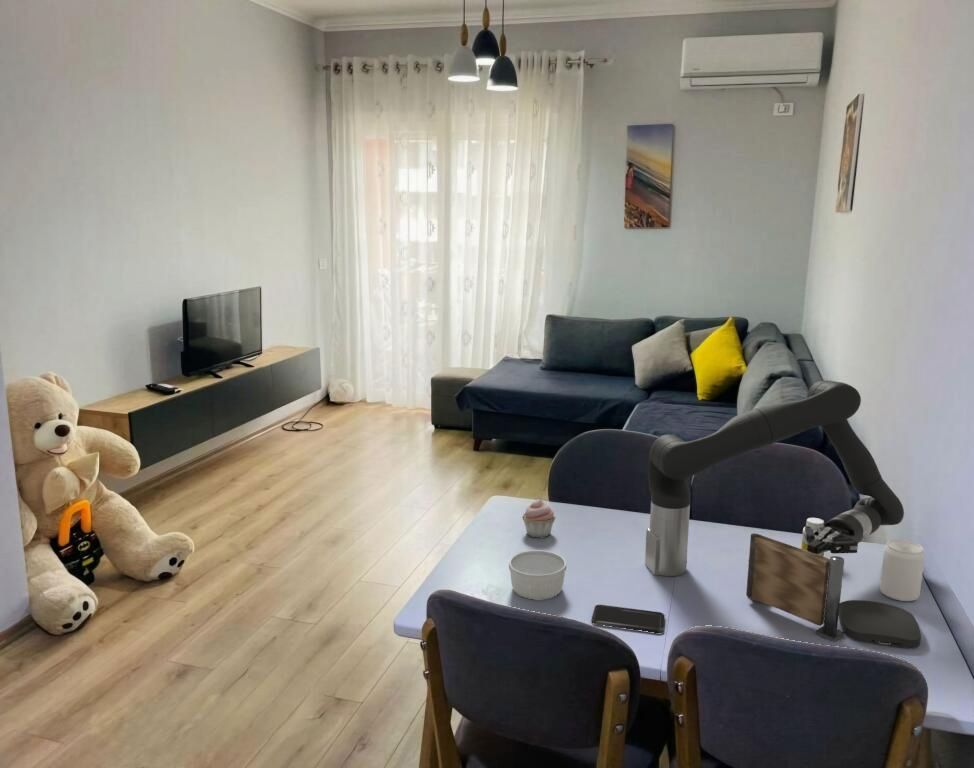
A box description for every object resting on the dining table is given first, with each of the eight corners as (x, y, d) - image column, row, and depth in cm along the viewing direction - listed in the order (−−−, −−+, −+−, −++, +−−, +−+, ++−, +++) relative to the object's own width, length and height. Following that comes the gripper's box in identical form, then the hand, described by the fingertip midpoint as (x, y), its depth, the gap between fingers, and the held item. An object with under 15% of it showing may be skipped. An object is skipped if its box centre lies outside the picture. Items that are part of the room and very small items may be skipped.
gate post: (849, 631, 163) (857, 556, 159) (834, 642, 159) (842, 565, 155) (755, 593, 179) (760, 523, 176) (739, 602, 175) (744, 531, 172)
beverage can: (915, 589, 181) (921, 541, 178) (922, 605, 174) (928, 555, 171) (877, 584, 184) (882, 536, 181) (881, 600, 176) (887, 550, 173)
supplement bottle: (819, 552, 201) (823, 516, 199) (826, 561, 195) (830, 525, 193) (797, 551, 201) (801, 515, 199) (804, 560, 196) (807, 524, 194)
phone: (663, 631, 162) (590, 621, 166) (662, 636, 162) (590, 626, 166) (664, 612, 169) (595, 603, 173) (664, 617, 169) (595, 608, 173)
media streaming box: (835, 607, 173) (836, 595, 173) (908, 617, 169) (909, 604, 169) (844, 641, 160) (845, 628, 159) (924, 653, 156) (925, 639, 155)
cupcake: (557, 540, 208) (558, 505, 206) (522, 540, 208) (522, 505, 206) (554, 526, 217) (555, 492, 215) (521, 526, 217) (521, 492, 215)
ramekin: (526, 608, 173) (527, 579, 171) (498, 584, 184) (498, 556, 182) (576, 595, 179) (577, 567, 177) (546, 572, 190) (546, 545, 188)
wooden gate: (824, 623, 163) (830, 559, 160) (819, 626, 162) (825, 561, 159) (749, 592, 176) (754, 532, 173) (744, 595, 175) (749, 535, 172)
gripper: (822, 506, 188) (784, 525, 177) (878, 522, 178) (841, 543, 167) (820, 535, 190) (782, 556, 179) (875, 552, 180) (839, 575, 169)
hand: (811, 550), depth 173 cm, fingers closed
